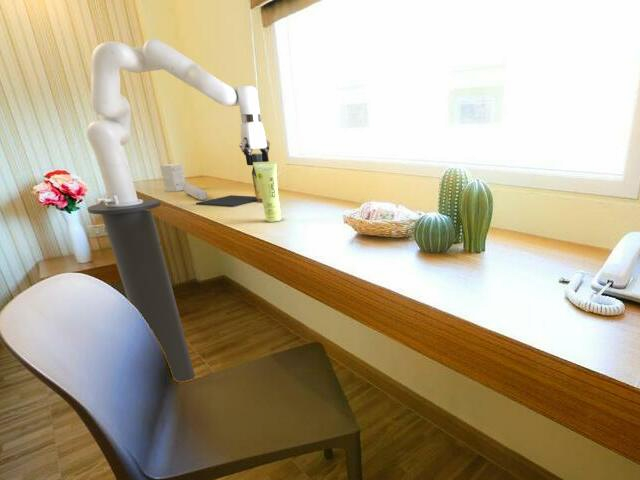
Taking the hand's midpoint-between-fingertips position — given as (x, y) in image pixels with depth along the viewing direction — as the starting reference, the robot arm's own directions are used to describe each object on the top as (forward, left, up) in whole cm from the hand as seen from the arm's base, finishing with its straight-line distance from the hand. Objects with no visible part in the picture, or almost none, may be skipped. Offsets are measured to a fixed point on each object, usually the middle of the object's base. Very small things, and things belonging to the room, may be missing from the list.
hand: (258, 164), depth 165 cm
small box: (+14, +68, -16) cm, 71 cm away
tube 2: (-30, -29, -16) cm, 45 cm away
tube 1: (0, +39, -16) cm, 42 cm away
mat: (-4, +14, -16) cm, 21 cm away
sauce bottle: (0, 0, -16) cm, 16 cm away
